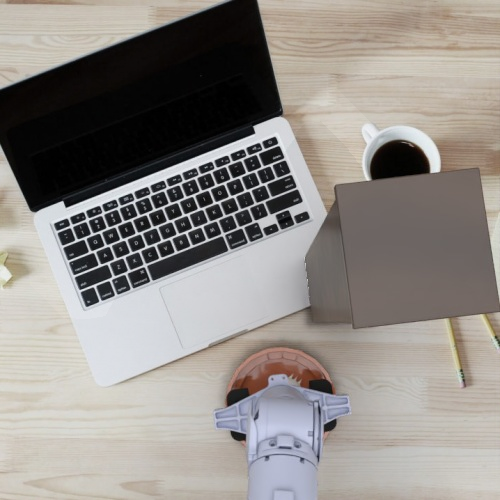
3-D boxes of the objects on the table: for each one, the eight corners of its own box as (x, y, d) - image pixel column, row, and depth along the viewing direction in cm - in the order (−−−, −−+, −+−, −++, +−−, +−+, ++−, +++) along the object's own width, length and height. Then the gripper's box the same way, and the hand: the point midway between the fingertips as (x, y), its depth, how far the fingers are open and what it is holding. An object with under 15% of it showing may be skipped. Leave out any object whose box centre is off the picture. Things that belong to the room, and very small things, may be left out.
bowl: (340, 448, 86) (343, 453, 83) (233, 460, 87) (232, 466, 83) (326, 340, 88) (329, 341, 84) (221, 352, 88) (219, 354, 84)
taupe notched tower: (379, 316, 88) (501, 312, 41) (309, 324, 88) (353, 329, 41) (370, 247, 89) (479, 166, 42) (301, 255, 89) (334, 184, 42)
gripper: (350, 369, 71) (337, 361, 85) (206, 386, 71) (216, 376, 85) (359, 441, 71) (345, 422, 84) (213, 457, 71) (223, 436, 84)
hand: (280, 402), depth 84 cm, fingers closed on toy creature, 6 cm apart
